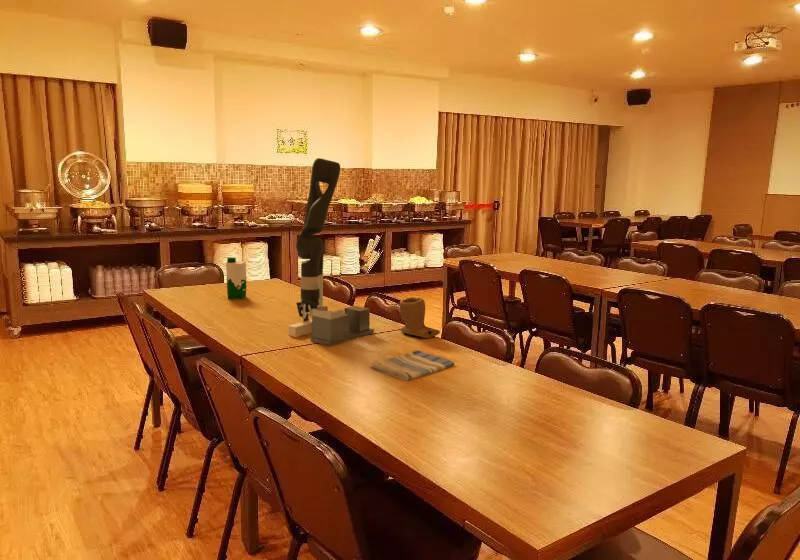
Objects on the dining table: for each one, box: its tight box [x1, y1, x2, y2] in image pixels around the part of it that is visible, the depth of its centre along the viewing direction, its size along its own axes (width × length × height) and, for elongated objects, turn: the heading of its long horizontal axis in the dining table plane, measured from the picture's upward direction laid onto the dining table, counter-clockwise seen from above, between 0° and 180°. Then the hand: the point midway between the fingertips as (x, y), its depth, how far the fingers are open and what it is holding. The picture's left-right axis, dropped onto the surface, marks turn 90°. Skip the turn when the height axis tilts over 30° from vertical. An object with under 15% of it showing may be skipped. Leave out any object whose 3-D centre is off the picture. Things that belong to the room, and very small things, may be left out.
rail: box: [287, 319, 312, 338], centre depth 244 cm, size 4×20×4 cm, turn 143°
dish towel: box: [370, 349, 455, 382], centre depth 202 cm, size 17×24×3 cm
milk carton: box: [225, 256, 247, 300], centre depth 301 cm, size 9×9×20 cm
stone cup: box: [398, 296, 441, 339], centre depth 240 cm, size 15×12×15 cm
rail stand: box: [310, 305, 375, 347], centre depth 235 cm, size 10×25×12 cm, turn 143°
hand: (310, 328), depth 244 cm, fingers closed on rail, 4 cm apart
